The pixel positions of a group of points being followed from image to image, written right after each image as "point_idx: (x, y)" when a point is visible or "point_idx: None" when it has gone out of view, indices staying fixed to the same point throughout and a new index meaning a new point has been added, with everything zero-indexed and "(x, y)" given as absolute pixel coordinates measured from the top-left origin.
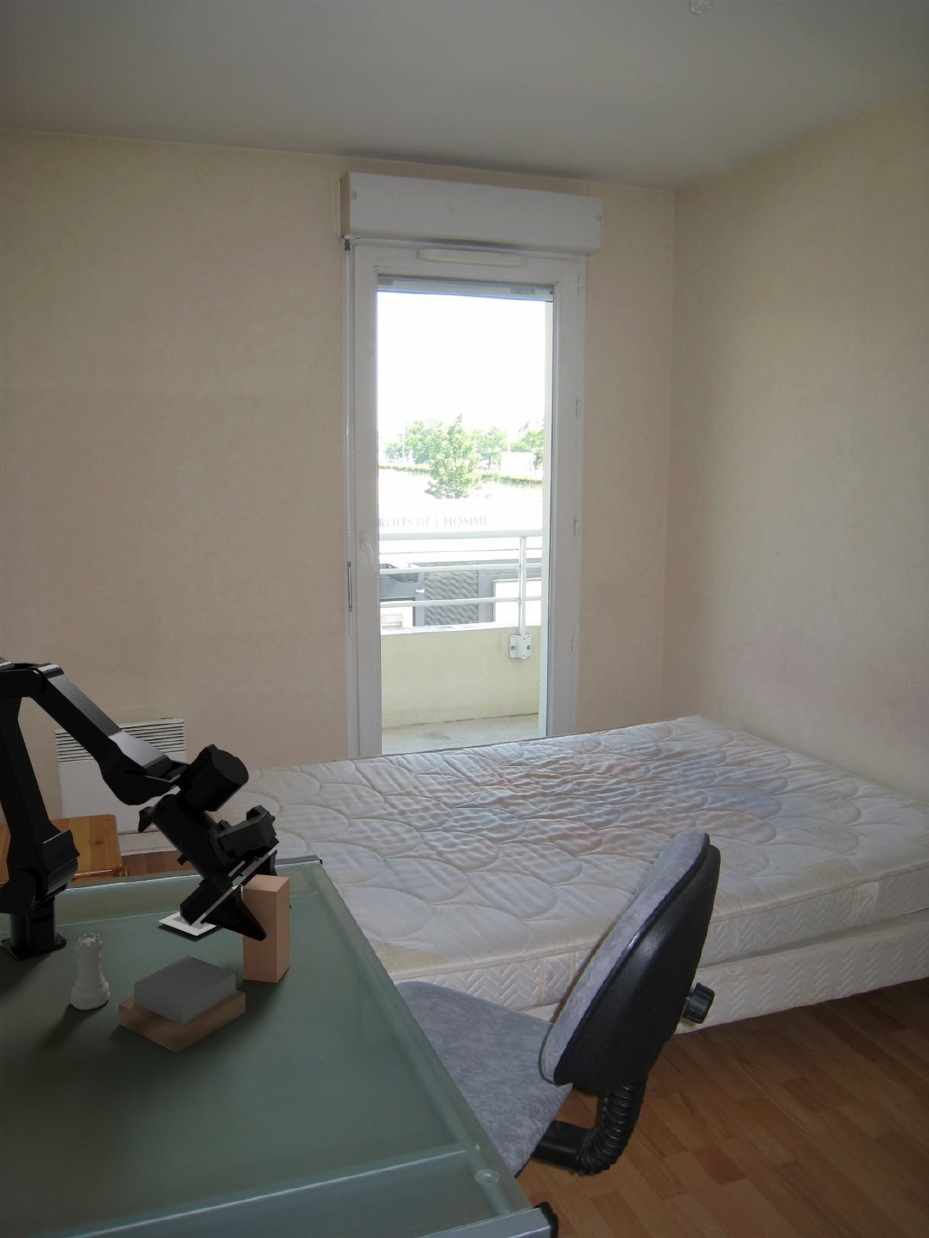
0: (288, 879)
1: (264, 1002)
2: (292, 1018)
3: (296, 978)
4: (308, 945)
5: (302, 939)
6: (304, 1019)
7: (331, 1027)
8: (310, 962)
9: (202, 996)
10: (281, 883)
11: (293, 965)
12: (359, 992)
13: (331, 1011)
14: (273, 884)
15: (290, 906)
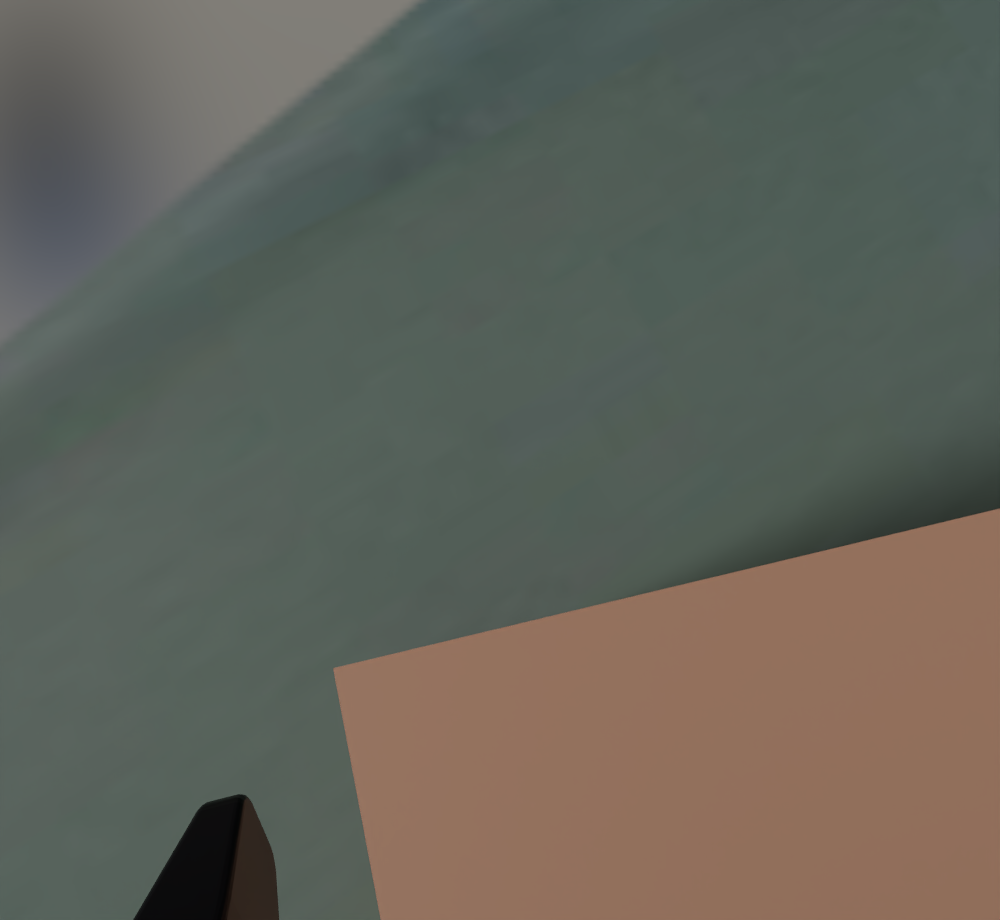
0: (420, 652)
1: None
2: (985, 295)
3: (577, 540)
4: (87, 750)
5: (4, 862)
6: (954, 229)
7: (935, 65)
8: (332, 578)
9: None
10: (811, 626)
11: None
12: (543, 100)
13: (802, 140)
14: (981, 809)
15: (216, 806)
